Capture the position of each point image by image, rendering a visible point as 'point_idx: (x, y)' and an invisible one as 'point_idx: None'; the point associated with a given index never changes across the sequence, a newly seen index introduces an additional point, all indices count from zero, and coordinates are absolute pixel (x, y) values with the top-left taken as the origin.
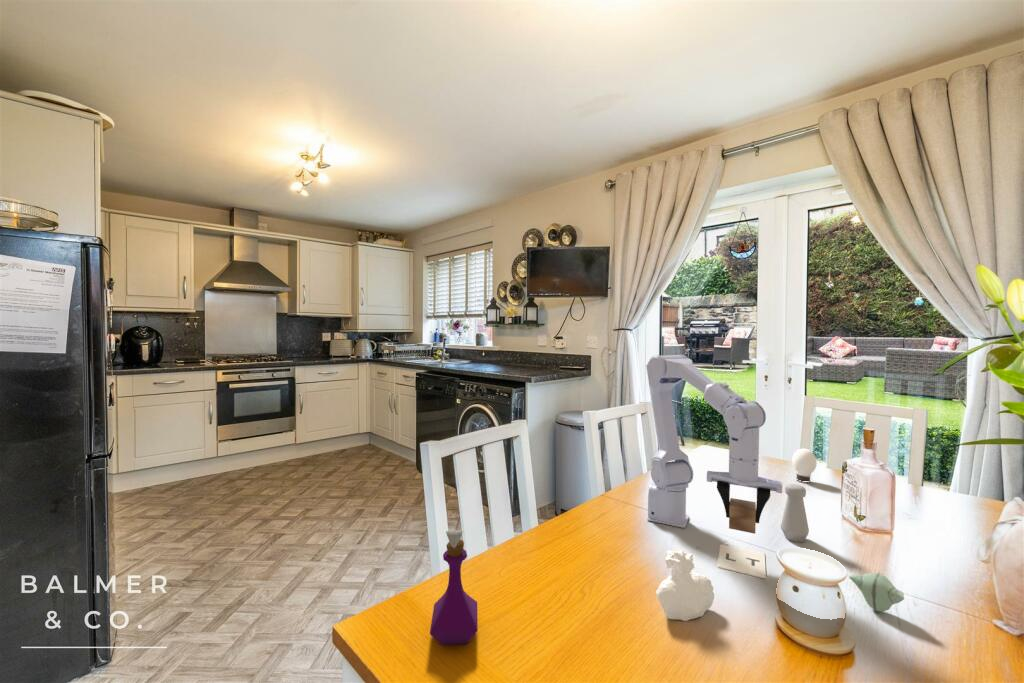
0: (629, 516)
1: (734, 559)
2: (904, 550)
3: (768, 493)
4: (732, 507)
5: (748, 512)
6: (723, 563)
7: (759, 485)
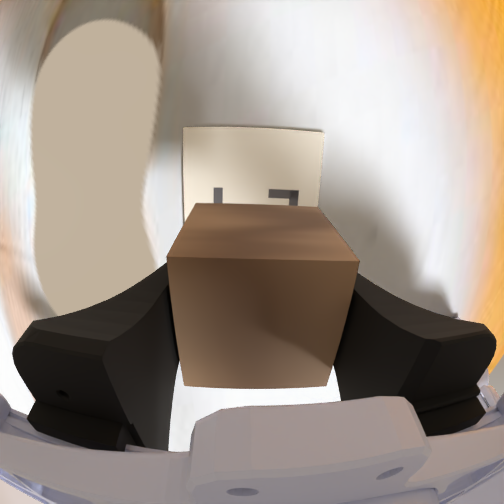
0: (484, 315)
1: (272, 202)
2: (14, 376)
3: (27, 374)
4: (336, 255)
5: (221, 248)
6: (306, 158)
7: (64, 454)
